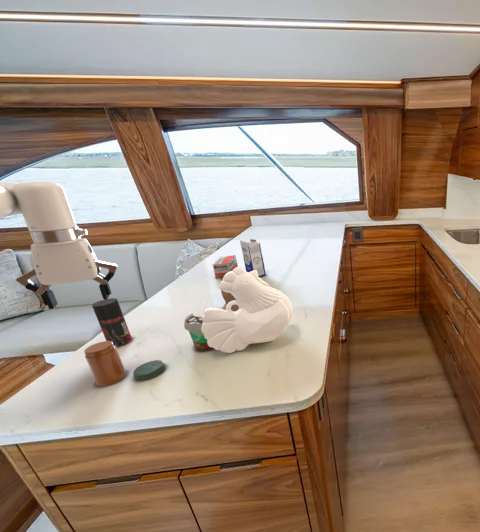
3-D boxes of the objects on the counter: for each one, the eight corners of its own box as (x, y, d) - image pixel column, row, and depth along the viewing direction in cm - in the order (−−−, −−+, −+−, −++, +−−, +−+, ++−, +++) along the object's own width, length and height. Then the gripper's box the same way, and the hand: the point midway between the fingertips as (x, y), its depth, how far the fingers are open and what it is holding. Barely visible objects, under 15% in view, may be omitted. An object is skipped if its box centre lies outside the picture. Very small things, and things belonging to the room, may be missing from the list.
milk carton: (247, 276, 157) (239, 240, 151) (259, 273, 162) (252, 237, 156) (254, 279, 153) (246, 241, 146) (266, 275, 158) (259, 239, 151)
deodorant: (129, 344, 98) (114, 303, 94) (105, 349, 96) (88, 308, 91) (133, 335, 103) (119, 296, 98) (111, 341, 101) (95, 301, 96)
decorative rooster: (300, 304, 109) (245, 256, 100) (302, 315, 94) (238, 261, 86) (248, 356, 104) (186, 311, 96) (242, 377, 90) (168, 325, 81)
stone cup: (249, 318, 114) (241, 281, 109) (215, 321, 112) (206, 284, 107) (259, 301, 128) (252, 268, 123) (229, 304, 126) (221, 271, 121)
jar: (95, 389, 78) (80, 356, 75) (99, 377, 83) (85, 345, 79) (124, 380, 81) (111, 347, 78) (127, 369, 86) (115, 337, 83)
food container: (181, 349, 95) (172, 322, 91) (198, 339, 100) (191, 313, 97) (210, 356, 91) (203, 327, 88) (227, 345, 97) (220, 317, 93)
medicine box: (222, 269, 169) (219, 256, 167) (238, 267, 171) (235, 254, 169) (215, 278, 156) (211, 264, 153) (232, 276, 158) (229, 262, 155)
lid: (165, 362, 89) (164, 357, 88) (164, 374, 84) (163, 368, 83) (136, 371, 85) (134, 365, 85) (133, 384, 80) (131, 378, 79)
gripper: (109, 229, 78) (128, 290, 83) (8, 238, 69) (36, 305, 74) (102, 234, 72) (123, 299, 77) (-9, 244, 63) (23, 317, 68)
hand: (81, 302), depth 76 cm, fingers open, 9 cm apart
